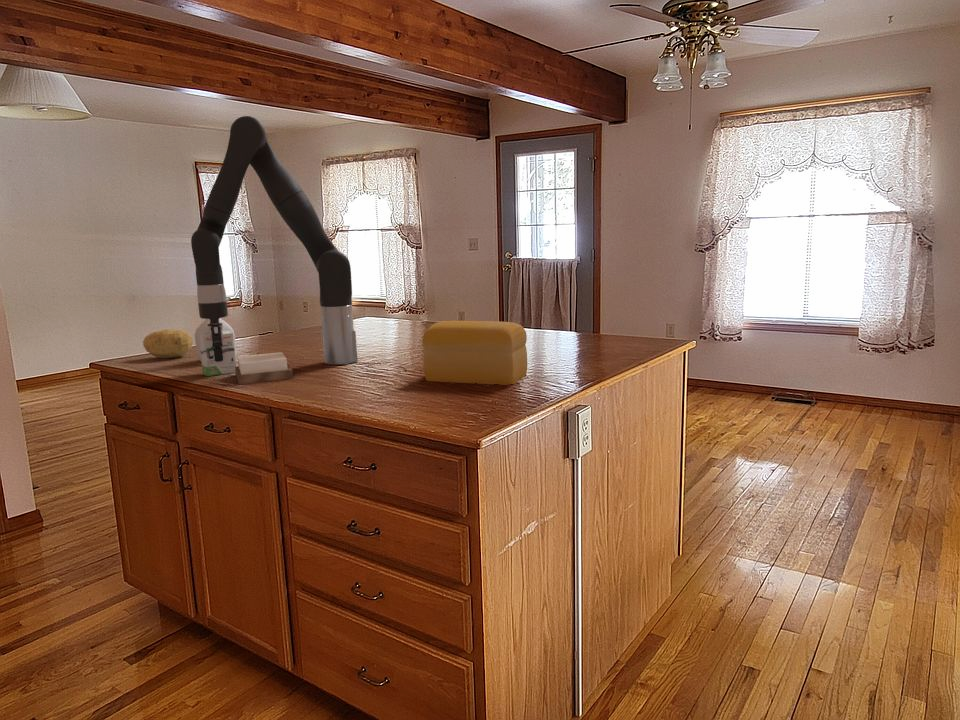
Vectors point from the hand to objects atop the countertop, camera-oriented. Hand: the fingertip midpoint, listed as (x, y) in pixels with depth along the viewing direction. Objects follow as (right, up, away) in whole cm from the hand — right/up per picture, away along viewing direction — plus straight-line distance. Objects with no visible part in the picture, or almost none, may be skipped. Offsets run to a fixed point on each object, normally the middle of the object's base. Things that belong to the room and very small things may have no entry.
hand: (218, 359), depth 196 cm
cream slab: (+15, -3, -6) cm, 16 cm away
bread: (+74, -5, -17) cm, 76 cm away
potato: (-27, 0, +29) cm, 40 cm away
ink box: (0, -4, +1) cm, 4 cm away
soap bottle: (-8, -1, +21) cm, 22 cm away
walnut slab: (+15, -5, -6) cm, 17 cm away
